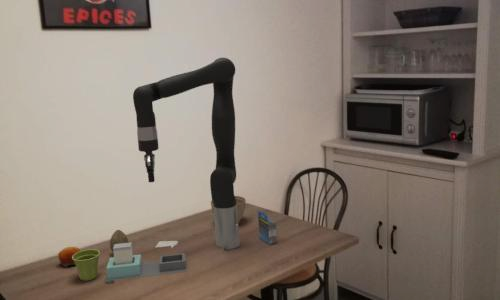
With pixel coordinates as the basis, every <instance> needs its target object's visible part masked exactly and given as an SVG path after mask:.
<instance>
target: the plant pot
mask: <svg viewBox="0 0 500 300" xmlns="http://www.w3.org/2000/svg"><path fill="white" fill-rule="evenodd" d="M100 255H101V252H100V250H98V249H93V248H92V249H83V250H80V252H77V253H75V254H74V255H73V256H72V259H73V260H74V262H75V264H76V265H75V266H76V270H77V274H78V277H79V279H80V280H81V281H86V282H87V281H92V280H94V278H97V277H98V273H99V271H98V270H99V269H98V267H99V257H100Z"/></svg>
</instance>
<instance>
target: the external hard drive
mask: <svg viewBox="0 0 500 300" xmlns="http://www.w3.org/2000/svg"><path fill="white" fill-rule="evenodd" d="M178 244H179V241H178V240H164V241H163V240H162V241H161V240H159V241H158V242H157V244H156V246H155V248H162V247H163V248H164V247H171V249H173V247H175V246H178Z"/></svg>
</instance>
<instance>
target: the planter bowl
mask: <svg viewBox="0 0 500 300" xmlns="http://www.w3.org/2000/svg"><path fill="white" fill-rule="evenodd" d="M234 196H235V198H236V205H237V223H238V224H240V223H241V219H242V218H243V216H244V213H245V211H246V210H245V209H246V198H245V197H243V196H240V195H234ZM210 205H211V206H210V207H211V211H212V214H213V215H214V205H213V201H212V200H210Z"/></svg>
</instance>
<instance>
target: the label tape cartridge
mask: <svg viewBox="0 0 500 300" xmlns="http://www.w3.org/2000/svg"><path fill="white" fill-rule="evenodd" d="M257 218H258V233H259V234H258V235H259V237H258V238H259V239H261V240H262V241H263V242H265V244H268V245H272V244H273V245H274V244H277V224H276V223H275V222H273V221H272V220H270V219H269V217H268V215H267V214H265V213H263V212H262V211H260V210H257Z"/></svg>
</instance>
